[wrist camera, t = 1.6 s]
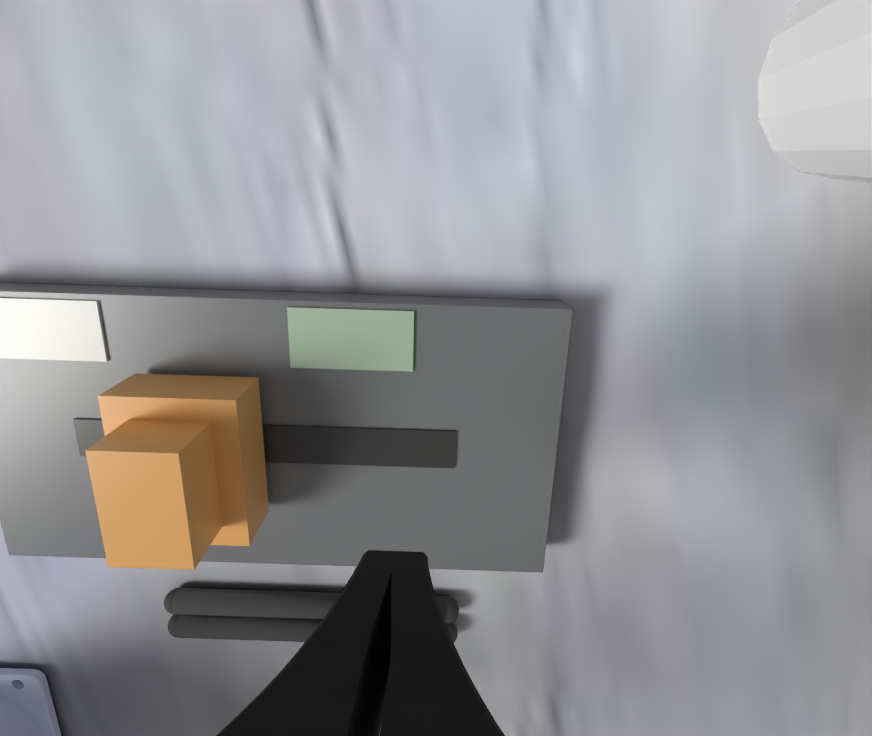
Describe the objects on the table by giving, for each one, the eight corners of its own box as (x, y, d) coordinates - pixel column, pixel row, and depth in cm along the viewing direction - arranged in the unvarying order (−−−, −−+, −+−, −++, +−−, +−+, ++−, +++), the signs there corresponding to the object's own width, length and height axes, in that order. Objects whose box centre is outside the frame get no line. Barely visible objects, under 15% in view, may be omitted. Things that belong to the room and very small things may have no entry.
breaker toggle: (156, 506, 19) (84, 586, 15) (135, 373, 17) (48, 424, 13) (269, 510, 19) (225, 590, 15) (258, 377, 17) (206, 429, 13)
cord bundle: (176, 624, 23) (164, 642, 22) (170, 581, 22) (157, 599, 21) (456, 633, 23) (457, 652, 22) (458, 591, 22) (459, 609, 21)
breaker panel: (38, 530, 21) (7, 556, 20) (-22, 281, 18) (-65, 289, 17) (536, 546, 21) (543, 573, 20) (562, 300, 18) (573, 310, 17)
